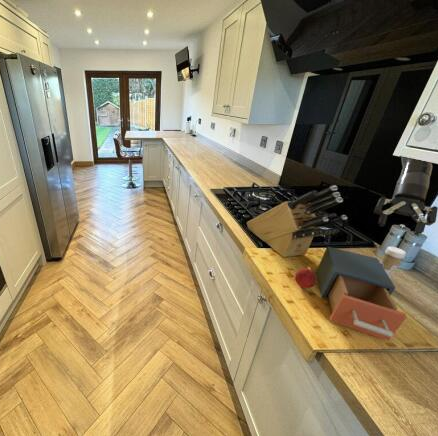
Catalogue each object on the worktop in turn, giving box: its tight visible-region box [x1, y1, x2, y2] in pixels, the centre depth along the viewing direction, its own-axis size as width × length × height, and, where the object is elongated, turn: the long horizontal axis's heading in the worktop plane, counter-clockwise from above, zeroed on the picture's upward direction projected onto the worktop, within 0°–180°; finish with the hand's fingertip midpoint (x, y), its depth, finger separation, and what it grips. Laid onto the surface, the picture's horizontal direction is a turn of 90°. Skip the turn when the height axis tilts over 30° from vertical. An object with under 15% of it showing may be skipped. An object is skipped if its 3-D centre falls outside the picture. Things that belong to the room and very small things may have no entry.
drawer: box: [328, 274, 408, 342], centre depth 65 cm, size 20×13×9 cm, turn 152°
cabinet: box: [315, 246, 396, 301], centre depth 76 cm, size 16×14×11 cm
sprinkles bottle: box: [379, 246, 407, 279], centre depth 80 cm, size 5×5×13 cm
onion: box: [294, 266, 317, 289], centre depth 77 cm, size 6×6×8 cm
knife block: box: [246, 185, 348, 258], centre depth 95 cm, size 11×35×31 cm, turn 13°
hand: (399, 229), depth 78 cm, fingers open, 8 cm apart
